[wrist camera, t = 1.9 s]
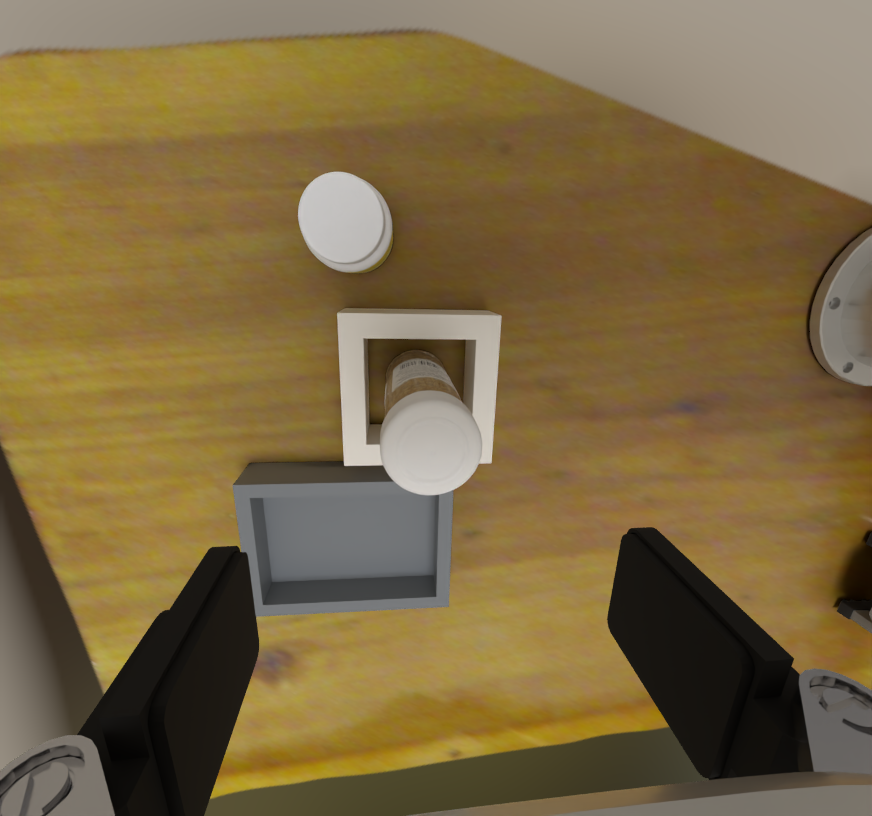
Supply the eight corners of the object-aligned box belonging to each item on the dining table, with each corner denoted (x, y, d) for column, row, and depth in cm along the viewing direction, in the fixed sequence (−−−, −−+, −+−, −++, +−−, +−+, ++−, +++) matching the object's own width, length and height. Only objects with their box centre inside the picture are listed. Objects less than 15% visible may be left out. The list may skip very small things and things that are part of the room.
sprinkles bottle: (378, 399, 31) (366, 486, 18) (395, 339, 30) (395, 388, 17) (437, 415, 32) (465, 509, 19) (456, 358, 31) (499, 417, 18)
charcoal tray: (447, 459, 33) (453, 480, 30) (443, 576, 36) (448, 606, 33) (249, 463, 32) (232, 485, 28) (264, 584, 35) (250, 616, 32)
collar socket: (488, 310, 30) (501, 315, 26) (480, 441, 33) (491, 463, 29) (344, 307, 29) (337, 312, 25) (350, 443, 32) (344, 465, 28)
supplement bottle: (408, 237, 28) (413, 222, 20) (358, 288, 29) (345, 294, 21) (354, 178, 27) (337, 136, 19) (304, 233, 27) (266, 216, 19)
